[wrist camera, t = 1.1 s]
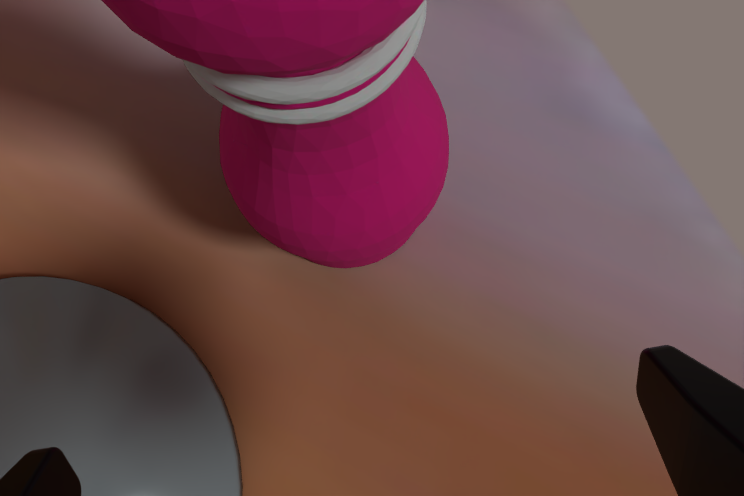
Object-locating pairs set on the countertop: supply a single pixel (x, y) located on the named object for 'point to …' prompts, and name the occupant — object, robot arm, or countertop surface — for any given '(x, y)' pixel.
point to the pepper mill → (314, 115)
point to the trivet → (110, 394)
